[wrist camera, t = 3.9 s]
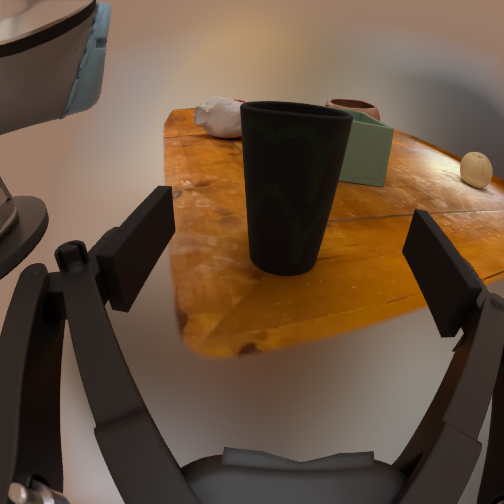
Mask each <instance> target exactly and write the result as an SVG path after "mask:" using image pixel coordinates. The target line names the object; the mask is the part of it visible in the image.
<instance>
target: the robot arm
mask: <svg viewBox="0 0 504 504" xmlns="http://www.w3.org/2000/svg"><path fill="white" fill-rule="evenodd" d="M110 15H111V6H110V4H109V3H103V2H97V3H96V0H0V135H2V134H5V133H8V132H11V131H15V130H18V129H21V128H25V127H28V126H32V125H35V124H39V123H43V122H47V121H50V120H55V119H62V118H65V117H66V116H67V115H71V114H74V113H78V112H82V111H85V110H88V109H89V108H91V107H92V106H93V105H95V103H96V102H97V101H98V99H99V97H100V94H101V87H102V81H103V73H104V63H105V55H106V43H107V36H108V30H109V23H110ZM18 217H19V215H18V211H17V207H16V204H15V202H14V199H13V197H12V196H11V194H10V193H9V191H8V189H7V188H6V186H5V184H4V182H3V181H2V179H1V177H0V242H1V241H2V240H3V239H4V238H5V237H6V236H7V235H8V234H9V233H10V232H11V231H12V229H13V228H14V226H15V225H16V223H17V221H18ZM174 233H175V221H174V210H173V198H172V186H158V187H157V188H156V189H155V190H154V191H153V192H152V193H151V194H150V195H149V196H148V197H147V198H146V199H145V200H144V201H143V202H142V203H141V204H140V205H139V206H138V207H137V208H136V209H135V210H134V211H133V213H132V214H131V215H130V216H129V217H128V218H127V219H126V220H125V221H124V222H123V223H122V225H121V226H120V227H114V228H112V229H111V230H109V231H107V232H106V233H105V234H104V235H103V236H102V237H101V239H99V241H98V242H97V243H96V244H95V245H94V246H93V247H92V248H91V250H90V251H89V252H88V253H87V250H86V246H85V244H84V242H82V241H78V240H74V241H69V242H66V243H64V244H62V245H61V246H59V247H58V248H57V249H56V251H55V254H54V255H55V258H56V261H57V264H58V267H59V270H60V272H52V273H48V271H47V268H46V266H45V265H44V264H41V263H36V264H32V265H30V266H28V267H26V268H25V269H24V270H23V272H22V273H21V274H20V277H19V280H18V282H17V285H16V287H15V290H14V293H13V296H12V299H11V302H10V305H9V308H8V311H7V314H6V317H5V321H4V324H3V328H2V331H1V335H0V504H70V503H69V501H68V500H67V498H66V497H65V496H64V495H63V465H62V451H61V434H60V379H61V377H60V376H61V361H62V360H61V359H62V348H63V338H64V328H65V320H67V319H68V324H69V328H70V334H71V339H72V343H73V348H74V352H75V356H76V360H77V364H78V368H79V371H80V375H81V379H82V382H83V385H84V389H85V392H86V396H87V399H88V402H89V405H90V408H91V411H92V414H93V417H94V420H95V423H96V428H94V433H95V437H96V440H97V443H98V445H99V448H100V450H101V453H102V455H103V458H104V460H105V462H106V465H107V467H108V469H109V471H110V474H111V476H112V478H113V480H114V482H115V485H116V486H117V489H118V491H119V493H120V495H121V497H122V499H123V501H124V502H125V504H457V502H458V501H459V499H460V497H461V495H462V493H463V491H464V489H465V487H466V485H467V483H468V481H469V479H470V476H471V474H472V472H473V470H474V467H475V465H476V463H477V460H478V458H479V455H480V453H481V449H482V443H480V442H479V441H477V438H478V435H479V432H480V430H481V427H482V424H483V421H484V419H485V415H486V413H487V410H488V406H489V403H490V400H491V396H492V412H491V422H490V432H489V440H488V447H487V453H486V459H485V465H484V470H483V475H482V479H481V484H480V489H479V494H478V498H477V504H504V299H503V298H502V297H501V296H499V295H497V294H495V293H489V291H488V290H487V288H486V286H485V285H484V283H483V282H482V280H481V279H480V278H479V276H478V274H477V273H476V272H475V270H474V269H473V267H472V266H471V264H470V263H469V262H468V261H466V260H465V259H464V258H463V257H462V256H461V255H460V254H459V252H458V251H457V249H456V248H455V247H454V245H453V244H452V243H451V241H450V240H449V239H448V237H447V236H446V235H445V233H444V232H443V231H442V230H441V228H440V227H439V226H438V225H437V223H436V222H435V221H434V220H433V218H432V217H431V216H430V215H429V213H428V212H427V211H423V210H417V209H415V211H414V215H413V218H412V222H411V225H410V228H409V232H408V235H407V238H406V241H405V244H404V247H403V250H402V253H403V255H404V256H405V258H406V260H407V262H408V264H409V266H410V268H411V270H412V272H413V274H414V276H415V279H416V281H417V283H418V285H419V287H420V289H421V291H422V293H423V296H424V298H425V300H426V302H427V304H428V307H429V309H430V311H431V314H432V316H433V318H434V321H435V323H436V325H437V328H438V330H439V333H440V335H441V337H455V335H456V334H457V332H458V331H459V329H460V328H462V330H463V332H464V334H463V336H462V337H461V339H460V340H459V342H458V343H457V345H456V346H455V348H454V349H453V350H452V351H453V352H455V353H454V356H453V358H452V360H451V363H450V365H449V367H448V370H447V372H446V374H445V376H444V378H443V380H442V383H441V385H440V387H439V389H438V391H437V393H436V395H435V397H434V399H433V401H432V403H431V404H430V406H429V408H428V410H427V412H426V414H425V416H424V417H423V419H422V421H421V423H420V425H419V426H418V428H417V430H416V431H415V433H414V435H413V436H412V438H411V440H410V441H409V443H408V444H407V446H406V447H405V449H404V451H403V452H402V454H401V455H400V456H399V457H398V459H397V460H396V461H395V462H394V463H393V464H392V465H389V464H387V463H385V462H382V461H378V460H374V452H373V451H371V452H357V453H339V454H335V455H331V456H328V457H323V458H319V459H315V460H311V461H306V462H298V461H294V460H290V459H286V458H283V457H279V456H276V455H272V454H269V453H266V452H263V451H254V450H244V449H235V448H227V447H224V452H223V455H214V456H209V457H205V458H201V459H198V460H196V461H193V462H191V463H189V464H187V465H185V466H183V467H182V468H180V466H179V464H178V463H177V461H176V460H175V458H174V456H173V455H172V453H171V451H170V450H169V448H168V446H167V445H166V443H165V441H164V439H163V438H162V436H161V434H160V432H159V430H158V428H157V426H156V424H155V423H154V421H153V419H152V417H151V415H150V413H149V411H148V409H147V407H146V405H145V403H144V401H143V399H142V397H141V395H140V393H139V390H138V388H137V386H136V384H135V382H134V379H133V377H132V375H131V373H130V370H129V368H128V366H127V363H126V361H125V359H124V356H123V354H122V351H121V349H120V346H119V344H118V341H117V339H116V336H115V334H114V331H113V328H112V325H111V323H110V320H109V317H108V315H107V311H106V309H105V304H106V303H107V301H108V300H109V301H110V304H111V307H112V310H117V311H122V312H129V310H130V308H131V306H132V304H133V303H134V301H135V299H136V297H137V295H138V294H139V292H140V290H141V288H142V286H143V285H144V283H145V281H146V280H147V278H148V276H149V274H150V273H151V271H152V269H153V268H154V266H155V264H156V263H157V261H158V259H159V257H160V256H161V254H162V252H163V251H164V249H165V248H166V246H167V244H168V243H169V241H170V239H171V238H172V236H173V235H174ZM455 350H456V351H455ZM492 393H493V394H492Z"/></svg>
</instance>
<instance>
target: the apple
mask: <svg viewBox="0 0 504 504" xmlns="http://www.w3.org/2000/svg"><path fill="white" fill-rule="evenodd" d="M460 174H461V177H462V179H463V180H464V181H465V182H466V183H467V184H469V185H471V186H473V187H476V188H484V187H486V186H487V185H488V184H489V183H490V181H491V179H492V166H491V163H490V161H489V160H488V159H487V157H486V156H485V155H483V154H481V153H477V152H470V153H467V154H466V155H465V156H464V157H463V159H462V161H461V164H460Z"/></svg>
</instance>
